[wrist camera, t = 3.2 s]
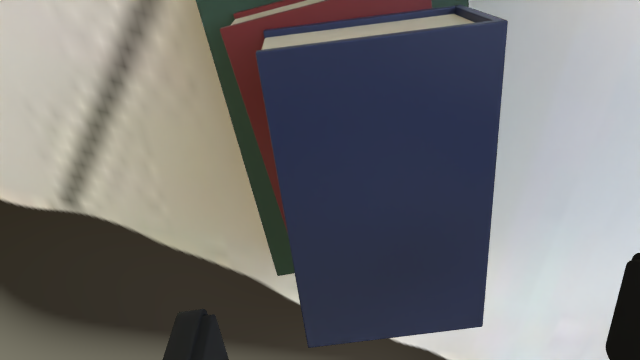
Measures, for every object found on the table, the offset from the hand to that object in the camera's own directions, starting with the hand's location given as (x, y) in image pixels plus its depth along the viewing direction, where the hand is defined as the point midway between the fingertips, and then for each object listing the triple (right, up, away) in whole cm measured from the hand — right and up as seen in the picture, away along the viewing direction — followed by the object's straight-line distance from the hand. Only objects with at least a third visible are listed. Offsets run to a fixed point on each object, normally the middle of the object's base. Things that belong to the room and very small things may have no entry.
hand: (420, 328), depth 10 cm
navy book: (0, +4, +7) cm, 8 cm away
